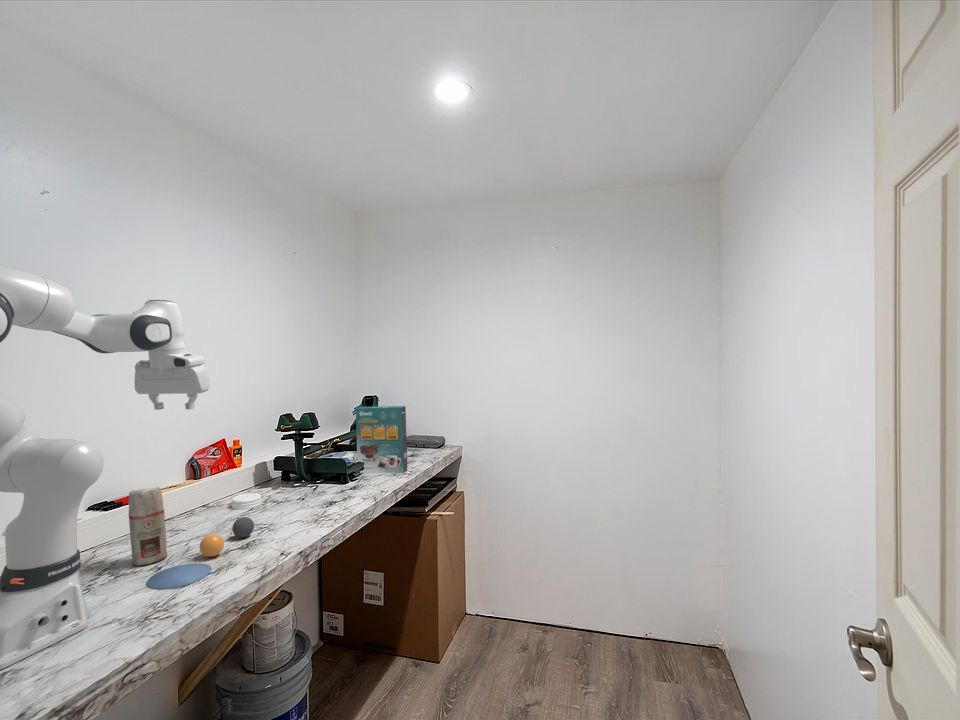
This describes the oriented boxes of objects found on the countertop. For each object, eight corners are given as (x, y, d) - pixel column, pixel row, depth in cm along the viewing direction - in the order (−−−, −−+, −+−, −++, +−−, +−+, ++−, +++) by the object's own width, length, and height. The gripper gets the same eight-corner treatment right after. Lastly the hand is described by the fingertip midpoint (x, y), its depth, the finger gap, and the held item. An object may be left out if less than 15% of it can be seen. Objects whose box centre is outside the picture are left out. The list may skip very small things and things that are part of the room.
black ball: (246, 541, 147) (245, 521, 147) (228, 540, 148) (227, 520, 148) (258, 533, 153) (257, 514, 153) (240, 533, 154) (240, 514, 154)
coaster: (242, 511, 176) (242, 502, 176) (226, 507, 181) (225, 498, 181) (267, 504, 185) (266, 494, 185) (250, 500, 190) (250, 491, 190)
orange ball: (214, 561, 133) (214, 539, 133) (194, 560, 134) (193, 538, 134) (229, 552, 139) (228, 530, 139) (209, 551, 140) (209, 530, 140)
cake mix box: (407, 470, 231) (405, 406, 230) (403, 473, 225) (401, 407, 224) (362, 469, 234) (360, 406, 233) (357, 473, 228) (355, 408, 227)
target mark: (184, 590, 117) (184, 589, 117) (132, 587, 119) (132, 587, 119) (223, 564, 131) (223, 564, 131) (176, 563, 133) (175, 562, 133)
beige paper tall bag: (125, 568, 130) (121, 493, 130) (137, 556, 138) (134, 485, 138) (161, 564, 132) (158, 490, 132) (171, 552, 140) (168, 482, 140)
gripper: (125, 362, 133) (131, 412, 135) (194, 360, 130) (200, 411, 132) (143, 358, 139) (149, 406, 141) (210, 357, 137) (215, 406, 138)
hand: (174, 409), depth 137 cm, fingers open, 8 cm apart
